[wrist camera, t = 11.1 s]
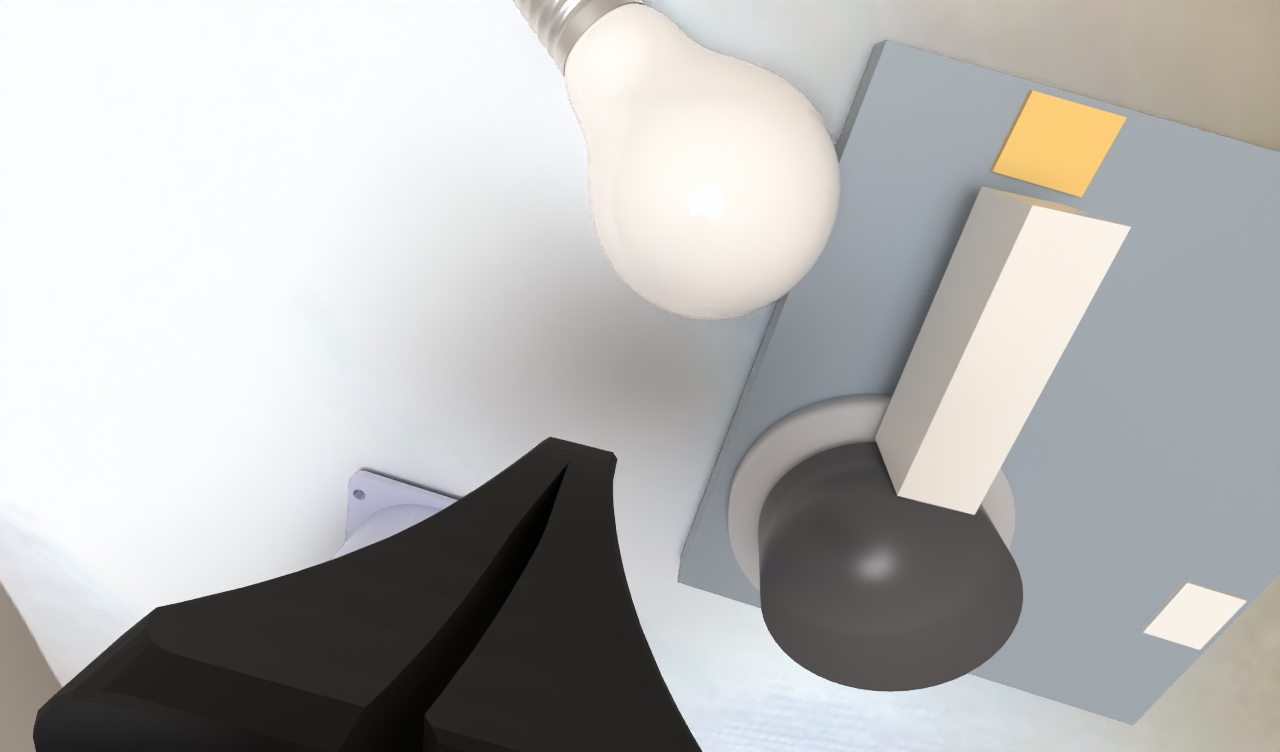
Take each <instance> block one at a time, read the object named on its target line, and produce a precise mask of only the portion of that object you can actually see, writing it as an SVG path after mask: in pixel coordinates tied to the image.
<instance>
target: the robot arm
mask: <svg viewBox="0 0 1280 752" xmlns="http://www.w3.org/2000/svg"><path fill="white" fill-rule="evenodd" d="M616 463H617V458H616V456H615V455H614V453H613V452H610V451H605V450H601V449H597V448H593V447H589V446H585V445H581V444H577V443H573V442H569V441H565V440H561V439H557V438H553V437H549V438H547V439H546V440H544V441H542V442H541V443H540V444H538V445H537V446H536V447H535V448H533V449H532V450H531V451H529V452H528V453H527V454H525V455H524V456H523V457H522V458H520V459H519V460H517V461H516V462H515V463H513V464H512V465H511V466H509V467H508V468H507V469H505V470H504V471H502V472H501V473H499V474H498V475H496V476H495V477H493V478H492V479H491V480H489V481H488V482H486V483H485V484H483V485H482V486H480V487H479V488H477V489H476V490H474V491H473V492H471V493H469V494H468V495H466V496H464V497H463V498H461V499H459V500H456V499H453V498H450V497H446V496H443V495H440V494H437V493H434V492H430V491H427V490H424V489H421V488H418V487H415V486H411V485H408V484H405V483H402V482H399V481H395V480H392V479H389V478H386V477H383V476H380V475H376V474H373V473H370V472H367V471H362V470H360V471H357V472H356V473H354V474H353V475H352V476H351V477H350V480H349V492H348V509H347V527H346V543H345V544H344V545H343V546H342V547H341V548H340V549H339V551H338V552H337V553H336V554H335V555H334V556H333V557H332V558H331V560H330V561H327V562H324V563H322V564H319V565H316V566H313V567H310V568H307V569H304V570H301V571H297V572H294V573H291V574H288V575H284V576H281V577H278V578H274V579H271V580H268V581H264V582H261V583H257V584H254V585H250V586H246V587H243V588H239V589H234V590H230V591H226V592H222V593H218V594H213V595H209V596H205V597H201V598H197V599H193V600H188V601H184V602H180V603H176V604H171V605H166V606H161V607H157V608H155V609H154V610H153V611H152V612H150V613H149V614H148V615H147V616H145V617H144V618H143V619H142V620H140V621H139V622H138V623H137V624H135V625H134V626H133V627H132V628H130V629H129V630H128V631H127V632H126V633H124V634H123V635H122V636H121V637H120V638H119V639H117V640H116V641H115V642H114V643H113V644H112V645H111V646H109V647H108V648H107V649H106V650H105V651H104V652H103V653H102V654H100V655H99V656H98V657H97V658H96V659H95V660H94V661H92V662H91V663H90V664H89V665H88V666H87V667H86V668H85V669H83V670H82V671H81V672H80V673H79V674H78V675H77V676H75V677H74V678H73V679H72V680H71V681H70V682H69V683H68V684H66V685H65V686H64V687H63V688H62V689H61V690H60V691H58V692H57V693H56V694H55V695H54V696H53V697H52V698H51V699H50V700H49V701H48V702H47V703H45V704H44V705H43V706H42V707H41V708H40V709H39V710H38V713H37V717H36V721H35V725H34V731H33V739H34V744H35V749H36V752H702V750H701V748H700V747H699V745H698V743H697V742H696V740H695V738H694V737H693V735H692V733H691V731H690V730H689V728H688V726H687V724H686V722H685V721H684V719H683V717H682V715H681V713H680V711H679V710H678V708H677V706H676V704H675V702H674V700H673V698H672V696H671V694H670V692H669V690H668V688H667V686H666V684H665V682H664V680H663V678H662V675H661V673H660V671H659V668H658V666H657V664H656V661H655V659H654V656H653V654H652V652H651V649H650V647H649V645H648V642H647V640H646V637H645V635H644V633H643V630H642V628H641V625H640V622H639V619H638V616H637V613H636V610H635V607H634V604H633V601H632V598H631V594H630V591H629V587H628V584H627V580H626V576H625V572H624V568H623V564H622V559H621V554H620V549H619V544H618V538H617V532H616V524H615V515H614V506H613V478H614V473H615V468H616ZM359 490H361V491H363V492H364V494H363V493H361V492H360V491H359Z"/></svg>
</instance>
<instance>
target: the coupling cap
mask: <svg viewBox="0 0 1280 752" xmlns="http://www.w3.org/2000/svg"><path fill="white" fill-rule="evenodd" d="M1130 228H1131V227H1130V226H1127V225H1124V224H1121V223H1118V222H1115V221H1112V220H1109V219H1106V218H1103V217H1100V216H1097V215H1094V214H1091V213H1088V212H1085V211H1082V210H1079V209H1076V208H1073V207H1070V206H1067V205H1064V204H1060V203H1056V202H1051V201H1047V200H1042V199H1037V198H1033V197H1028V196H1024V195H1019V194H1015V193H1010V192H1006V191H1001V190H996V189H992V188H987V187H983V186H982V187H981V189H980V191H979V194H978V196H977V199H976V201H975V203H974V206H973V208H972V210H971V213H970V215H969V217H968V220H967V222H966V224H965V227H964V229H963V232H962V234H961V236H960V239H959V241H958V243H957V246H956V248H955V250H954V253H953V255H952V257H951V260H950V262H949V264H948V267H947V269H946V272H945V274H944V276H943V279H942V281H941V283H940V286H939V288H938V290H937V293H936V295H935V297H934V300H933V302H932V305H931V307H930V309H929V312H928V314H927V316H926V319H925V321H924V323H923V326H922V328H921V330H920V333H919V335H918V338H917V340H916V342H915V345H914V347H913V349H912V352H911V354H910V356H909V359H908V361H907V363H906V366H905V368H904V370H903V373H902V375H901V378H900V380H899V382H898V385H897V387H896V389H895V392H894V394H893V396H892V399H891V401H890V403H889V406H888V408H887V411H886V413H885V415H884V418H883V420H882V422H881V425H880V427H879V429H878V432H877V434H876V436H875V439H876V442H861V443H854V444H847V445H842V446H838V447H835V448H831V449H828V450H825V451H823V452H820V453H817V454H815V455H813V456H811V457H809V458H807V459H806V460H804V461H802V462H801V463H799V464H798V465H796V466H795V467H793V468H792V469H791V470H790V471H788V472H787V473H786V474H785V475H784V476H783V477H782V478H781V479H780V480H779V481H778V482H777V484H776V485H775V486H774V487H773V489H772V490H771V492H770V493H769V495H768V496H767V498H766V500H765V503H764V505H763V507H762V510H761V514H760V518H759V525H758V547H759V576H760V600H761V610H762V614H763V618H764V621H765V623H766V626H767V628H768V630H769V632H770V634H771V635H772V637H773V638H774V640H775V642H776V643H777V644H778V645H779V646H780V648H781V649H782V650H783V651H784V652H785V653H786V654H787V655H788V656H789V657H790V658H792V659H793V660H794V661H795V662H797V663H798V664H799V665H801V666H802V667H804V668H805V669H807V670H809V671H810V672H812V673H814V674H816V675H818V676H820V677H822V678H825V679H827V680H829V681H832V682H835V683H838V684H841V685H845V686H849V687H854V688H858V689H865V690H873V691H908V690H916V689H923V688H927V687H931V686H936V685H940V684H942V683H945V682H948V681H951V680H954V679H956V678H959V677H961V676H963V675H965V674H967V673H969V672H971V671H972V670H974V669H976V668H977V667H979V666H981V665H982V664H983V663H985V662H986V661H987V660H989V659H990V658H991V657H993V656H994V655H995V654H996V653H997V652H998V651H999V650H1000V649H1001V648H1002V647H1003V645H1004V644H1005V643H1006V641H1007V640H1008V639H1009V637H1010V636H1011V634H1012V633H1013V631H1014V629H1015V627H1016V625H1017V623H1018V620H1019V617H1020V614H1021V611H1022V604H1023V584H1022V580H1021V575H1020V572H1019V569H1018V567H1017V565H1016V563H1015V560H1014V558H1013V557H1012V555H1011V553H1010V552H1009V550H1008V548H1007V546H1006V545H1005V543H1004V541H1003V540H1002V538H1001V536H1000V535H999V533H998V531H997V529H996V528H995V526H994V524H993V523H992V521H991V519H990V517H989V516H988V514H987V512H986V511H985V509H984V507H983V506H982V504H981V502H982V501H983V499H984V497H985V495H986V493H987V491H988V490H989V488H990V486H991V484H992V482H993V480H994V479H995V477H996V475H997V473H998V471H999V469H1000V468H1001V466H1002V464H1003V462H1004V460H1005V458H1006V456H1007V455H1008V453H1009V451H1010V449H1011V447H1012V445H1013V444H1014V442H1015V440H1016V438H1017V436H1018V434H1019V433H1020V431H1021V429H1022V427H1023V425H1024V423H1025V422H1026V420H1027V418H1028V416H1029V414H1030V412H1031V410H1032V409H1033V407H1034V405H1035V403H1036V401H1037V399H1038V398H1039V396H1040V394H1041V392H1042V390H1043V388H1044V387H1045V385H1046V383H1047V381H1048V379H1049V377H1050V376H1051V374H1052V372H1053V370H1054V368H1055V366H1056V364H1057V363H1058V361H1059V359H1060V357H1061V355H1062V353H1063V352H1064V350H1065V348H1066V346H1067V344H1068V342H1069V341H1070V339H1071V337H1072V335H1073V333H1074V331H1075V330H1076V328H1077V326H1078V324H1079V322H1080V320H1081V318H1082V317H1083V315H1084V313H1085V311H1086V309H1087V307H1088V306H1089V304H1090V302H1091V300H1092V298H1093V296H1094V295H1095V293H1096V291H1097V289H1098V287H1099V285H1100V284H1101V282H1102V280H1103V278H1104V276H1105V274H1106V272H1107V271H1108V269H1109V267H1110V265H1111V263H1112V261H1113V260H1114V258H1115V256H1116V254H1117V252H1118V250H1119V249H1120V247H1121V245H1122V243H1123V241H1124V239H1125V238H1126V236H1127V234H1128V232H1129V230H1130Z"/></svg>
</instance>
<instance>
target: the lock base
mask: <svg viewBox="0 0 1280 752" xmlns="http://www.w3.org/2000/svg"><path fill="white" fill-rule="evenodd" d="M835 150H836V154H837V158H838V163H839V170H840V201H839V208H838V213H837V218H836V222H835V225H834V228H833V231H832V234H831V236H830V239H829V241H828V243H827V245H826V247H825V249H824V251H823V253H822V254H821V256H820V258H819V259H818V261H817V262H816V264H815V265H814V266H813V268H812V269H811V270H810V272H809V273H808V274H807V275H806V276H805V277H804V278H803V280H802V281H801V282H800V283H798V284H797V285H796V286H795V287H794V288H793V289H792V290H791V291H789V292H788V293H787V294H786V295H784V296H783V297H781V298H780V299H778V302H777V304H776V307H775V310H774V312H773V315H772V318H771V320H770V323H769V325H768V328H767V331H766V333H765V336H764V339H763V341H762V344H761V346H760V349H759V352H758V354H757V357H756V360H755V362H754V365H753V368H752V370H751V373H750V375H749V378H748V381H747V383H746V386H745V389H744V391H743V394H742V396H741V399H740V402H739V404H738V407H737V410H736V412H735V415H734V418H733V420H732V423H731V425H730V428H729V431H728V433H727V436H726V439H725V441H724V444H723V446H722V449H721V452H720V454H719V457H718V460H717V462H716V465H715V468H714V470H713V473H712V475H711V478H710V481H709V483H708V486H707V489H706V491H705V494H704V496H703V499H702V502H701V504H700V507H699V510H698V512H697V515H696V518H695V520H694V523H693V525H692V528H691V531H690V533H689V536H688V539H687V541H686V544H685V546H684V549H683V552H682V554H681V559H680V566H679V574H678V581H677V582H679V583H683V584H686V585H689V586H692V587H695V588H698V589H702V590H705V591H708V592H711V593H714V594H718V595H721V596H724V597H727V598H730V599H733V600H737V601H740V602H743V603H746V604H749V605H753V606H756V607H759V608H761V600H760V576H759V547H758V525H759V518H760V514H761V510H762V507H763V505H764V503H765V500H766V498H767V496H768V495H769V493H770V492H771V490H772V489H773V487H774V486H775V485H776V484H777V482H778V481H779V480H780V479H781V478H782V477H783V476H784V475H785V474H786V473H787V472H788V471H790V470H791V469H792V468H793V467H795V466H796V465H798V464H799V463H801V462H802V461H804V460H806V459H807V458H809V457H811V456H813V455H815V454H817V453H820V452H823V451H825V450H828V449H831V448H835V447H838V446H842V445H847V444H854V443H861V442H876V439H875V436H876V434H877V432H878V429H879V427H880V425H881V422H882V420H883V418H884V415H885V413H886V411H887V408H888V406H889V403H890V401H891V399H892V396H893V394H894V392H895V389H896V387H897V385H898V382H899V380H900V378H901V375H902V373H903V370H904V368H905V366H906V363H907V361H908V359H909V356H910V354H911V352H912V349H913V347H914V345H915V342H916V340H917V338H918V335H919V333H920V330H921V328H922V326H923V323H924V321H925V319H926V316H927V314H928V312H929V309H930V307H931V305H932V302H933V300H934V297H935V295H936V293H937V290H938V288H939V286H940V283H941V281H942V279H943V276H944V274H945V272H946V269H947V267H948V264H949V262H950V260H951V257H952V255H953V253H954V250H955V248H956V246H957V243H958V241H959V239H960V236H961V234H962V232H963V229H964V227H965V224H966V222H967V220H968V217H969V215H970V213H971V210H972V208H973V206H974V203H975V201H976V199H977V196H978V194H979V191H980V189H981V187H982V186H983V187H987V188H992V189H996V190H1001V191H1006V192H1010V193H1015V194H1019V195H1024V196H1028V197H1033V198H1037V199H1042V200H1047V201H1051V202H1056V203H1060V204H1064V205H1067V206H1070V207H1073V208H1076V209H1079V210H1082V211H1085V212H1088V213H1091V214H1094V215H1097V216H1100V217H1103V218H1106V219H1109V220H1112V221H1115V222H1118V223H1121V224H1124V225H1127V226H1130V227H1131V228H1130V230H1129V232H1128V234H1127V236H1126V238H1125V239H1124V241H1123V243H1122V245H1121V247H1120V249H1119V250H1118V252H1117V254H1116V256H1115V258H1114V260H1113V261H1112V263H1111V265H1110V267H1109V269H1108V271H1107V272H1106V274H1105V276H1104V278H1103V280H1102V282H1101V284H1100V285H1099V287H1098V289H1097V291H1096V293H1095V295H1094V296H1093V298H1092V300H1091V302H1090V304H1089V306H1088V307H1087V309H1086V311H1085V313H1084V315H1083V317H1082V318H1081V320H1080V322H1079V324H1078V326H1077V328H1076V330H1075V331H1074V333H1073V335H1072V337H1071V339H1070V341H1069V342H1068V344H1067V346H1066V348H1065V350H1064V352H1063V353H1062V355H1061V357H1060V359H1059V361H1058V363H1057V364H1056V366H1055V368H1054V370H1053V372H1052V374H1051V376H1050V377H1049V379H1048V381H1047V383H1046V385H1045V387H1044V388H1043V390H1042V392H1041V394H1040V396H1039V398H1038V399H1037V401H1036V403H1035V405H1034V407H1033V409H1032V410H1031V412H1030V414H1029V416H1028V418H1027V420H1026V422H1025V423H1024V425H1023V427H1022V429H1021V431H1020V433H1019V434H1018V436H1017V438H1016V440H1015V442H1014V444H1013V445H1012V447H1011V449H1010V451H1009V453H1008V455H1007V456H1006V458H1005V460H1004V462H1003V464H1002V466H1001V468H1000V469H999V471H998V473H997V475H996V477H995V479H994V480H993V482H992V484H991V486H990V488H989V490H988V491H987V493H986V495H985V497H984V499H983V501H982V502H981V504H982V506H983V507H984V509H985V511H986V512H987V514H988V516H989V517H990V519H991V521H992V523H993V524H994V526H995V528H996V529H997V531H998V533H999V535H1000V536H1001V538H1002V540H1003V541H1004V543H1005V545H1006V546H1007V548H1008V550H1009V552H1010V553H1011V555H1012V557H1013V558H1014V560H1015V563H1016V565H1017V567H1018V569H1019V572H1020V575H1021V580H1022V584H1023V604H1022V611H1021V614H1020V617H1019V620H1018V623H1017V625H1016V627H1015V629H1014V631H1013V633H1012V634H1011V636H1010V637H1009V639H1008V640H1007V641H1006V643H1005V644H1004V645H1003V647H1002V648H1001V649H1000V650H999V651H998V652H997V653H996V654H995V655H994V656H993V657H991V658H990V659H989V660H987V661H986V662H985V663H983V664H982V665H981V666H979V667H977V668H976V669H974V670H972V671H971V672H969V674H972V675H975V676H978V677H981V678H984V679H988V680H991V681H994V682H997V683H1000V684H1004V685H1007V686H1010V687H1013V688H1016V689H1019V690H1023V691H1026V692H1029V693H1032V694H1035V695H1038V696H1042V697H1045V698H1048V699H1051V700H1054V701H1058V702H1061V703H1064V704H1067V705H1070V706H1073V707H1077V708H1080V709H1083V710H1086V711H1089V712H1092V713H1096V714H1099V715H1102V716H1105V717H1108V718H1112V719H1115V720H1118V721H1121V722H1124V723H1127V724H1131V725H1134V724H1135V723H1136V722H1137V721H1138V720H1139V719H1140V718H1141V716H1142V715H1143V714H1144V713H1145V712H1146V711H1147V710H1148V709H1149V708H1150V707H1151V706H1152V705H1153V704H1154V703H1155V702H1156V701H1157V700H1158V699H1159V698H1160V697H1161V696H1162V695H1163V694H1164V693H1165V692H1166V691H1167V690H1168V689H1169V688H1170V687H1171V686H1172V685H1173V684H1174V683H1175V682H1176V680H1177V679H1178V678H1179V677H1180V676H1181V675H1182V674H1183V673H1184V672H1185V671H1186V670H1187V669H1188V668H1189V667H1190V666H1191V665H1192V664H1193V663H1194V662H1195V661H1196V660H1197V659H1198V658H1199V657H1200V656H1201V655H1202V654H1203V653H1204V652H1205V651H1206V650H1207V649H1208V648H1209V647H1210V646H1211V644H1212V643H1213V642H1214V641H1215V640H1216V639H1217V638H1218V637H1219V636H1220V635H1221V634H1222V633H1223V632H1224V631H1225V630H1226V629H1227V628H1228V627H1229V626H1230V625H1231V624H1232V623H1233V622H1234V621H1235V620H1236V619H1237V618H1238V617H1239V616H1240V615H1241V614H1242V613H1243V612H1244V611H1245V610H1246V608H1247V607H1248V606H1249V605H1250V604H1251V603H1252V602H1253V601H1254V600H1255V599H1256V598H1257V597H1258V596H1259V595H1260V594H1261V593H1262V592H1263V591H1264V590H1265V589H1266V588H1267V587H1268V586H1269V585H1270V584H1271V583H1272V582H1273V581H1274V580H1275V579H1276V578H1277V577H1278V576H1279V575H1280V152H1277V151H1273V150H1270V149H1266V148H1263V147H1259V146H1256V145H1252V144H1249V143H1245V142H1242V141H1238V140H1235V139H1231V138H1228V137H1224V136H1221V135H1217V134H1214V133H1210V132H1207V131H1203V130H1200V129H1196V128H1193V127H1189V126H1186V125H1182V124H1179V123H1175V122H1172V121H1168V120H1165V119H1161V118H1158V117H1155V116H1151V115H1148V114H1144V113H1141V112H1137V111H1134V110H1130V109H1127V108H1123V107H1120V106H1116V105H1113V104H1109V103H1106V102H1102V101H1099V100H1095V99H1092V98H1088V97H1085V96H1081V95H1078V94H1074V93H1071V92H1067V91H1064V90H1060V89H1057V88H1053V87H1050V86H1046V85H1043V84H1039V83H1036V82H1032V81H1029V80H1025V79H1022V78H1018V77H1015V76H1011V75H1008V74H1004V73H1001V72H997V71H994V70H990V69H987V68H983V67H980V66H976V65H973V64H969V63H966V62H962V61H959V60H955V59H952V58H948V57H945V56H941V55H938V54H934V53H931V52H927V51H924V50H920V49H917V48H913V47H910V46H906V45H903V44H899V43H896V42H892V41H889V40H885V41H883V42H880V43H878V44H875V47H874V49H873V52H872V54H871V57H870V60H869V62H868V65H867V68H866V70H865V73H864V76H863V78H862V81H861V83H860V86H859V89H858V91H857V94H856V97H855V99H854V102H853V104H852V107H851V110H850V112H849V115H848V118H847V120H846V123H845V125H844V128H843V131H842V133H841V136H840V139H839V141H838V144H837V147H836V149H835Z"/></svg>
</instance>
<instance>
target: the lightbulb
mask: <svg viewBox="0 0 1280 752" xmlns="http://www.w3.org/2000/svg"><path fill="white" fill-rule="evenodd" d="M513 1H514V4H515V5H516V7H517V8H518V9H519V10H520V12H521V14H522V16H523V17H524V18H525V19H526V20H527V21H528V22H529V25H530V27H531V29H532V30H533V31H534V32H535V33H536V34H537V35H538V38H539V40H540V42H541V43H542V44H543V45H544V46H545V47H546V48H547V50H548V53H549V55H550V56H551V57H552V58H553V59H554V60H555V63H556V65H557V67H558V68H559V69H560V71H561V72H562V74H563V75H564V77H565V84H566V90H567V94H568V98H569V101H570V104H571V106H572V109H573V111H574V113H575V116H576V118H577V120H578V122H579V124H580V127H581V129H582V132H583V135H584V138H585V142H586V148H587V157H588V182H589V199H590V208H591V215H592V220H593V225H594V229H595V232H596V235H597V238H598V241H599V243H600V246H601V248H602V250H603V252H604V254H605V256H606V258H607V259H608V261H609V263H610V264H611V266H612V267H613V269H614V270H615V272H616V273H617V274H618V275H619V277H620V278H621V279H622V280H623V281H624V282H625V283H626V284H627V285H628V286H629V287H630V288H631V289H632V290H633V291H634V292H635V293H637V294H638V295H639V296H641V297H642V298H643V299H645V300H646V301H648V302H649V303H651V304H653V305H655V306H657V307H658V308H661V309H663V310H665V311H668V312H670V313H673V314H676V315H680V316H684V317H688V318H694V319H705V320H715V319H727V318H733V317H738V316H742V315H745V314H749V313H752V312H754V311H757V310H759V309H762V308H764V307H766V306H768V305H770V304H772V303H773V302H775V301H777V300H778V299H780V298H781V297H783V296H784V295H786V294H787V293H788V292H789V291H791V290H792V289H793V288H794V287H795V286H796V285H797V284H798V283H800V282H801V281H802V280H803V278H804V277H805V276H806V275H807V274H808V273H809V272H810V270H811V269H812V268H813V266H814V265H815V264H816V262H817V261H818V259H819V258H820V256H821V254H822V253H823V251H824V249H825V247H826V245H827V243H828V241H829V239H830V236H831V234H832V231H833V228H834V225H835V222H836V218H837V213H838V208H839V201H840V170H839V163H838V158H837V154H836V150H835V146H834V143H833V140H832V138H831V135H830V133H829V131H828V129H827V127H826V125H825V123H824V121H823V120H822V118H821V116H820V115H819V113H818V112H817V110H816V109H815V108H814V106H813V105H812V104H811V103H810V102H809V100H808V99H807V98H806V97H805V96H804V95H803V94H802V93H801V92H800V91H799V90H797V89H796V88H795V87H794V86H793V85H791V84H790V83H789V82H787V81H786V80H784V79H783V78H781V77H779V76H778V75H776V74H774V73H772V72H770V71H768V70H766V69H764V68H761V67H759V66H757V65H754V64H751V63H748V62H745V61H742V60H739V59H736V58H733V57H729V56H726V55H723V54H720V53H717V52H714V51H711V50H709V49H706V48H704V47H702V46H701V45H699V44H697V43H696V42H694V41H693V40H692V39H690V38H689V37H688V36H687V35H686V34H685V33H684V32H683V31H682V30H681V29H680V28H678V27H677V26H676V25H675V24H674V23H673V22H672V21H671V20H670V19H669V18H667V17H666V16H665V15H663V14H662V13H660V12H659V11H657V10H655V9H653V8H650V7H648V6H645V4H644V3H643V1H642V0H513Z"/></svg>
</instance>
